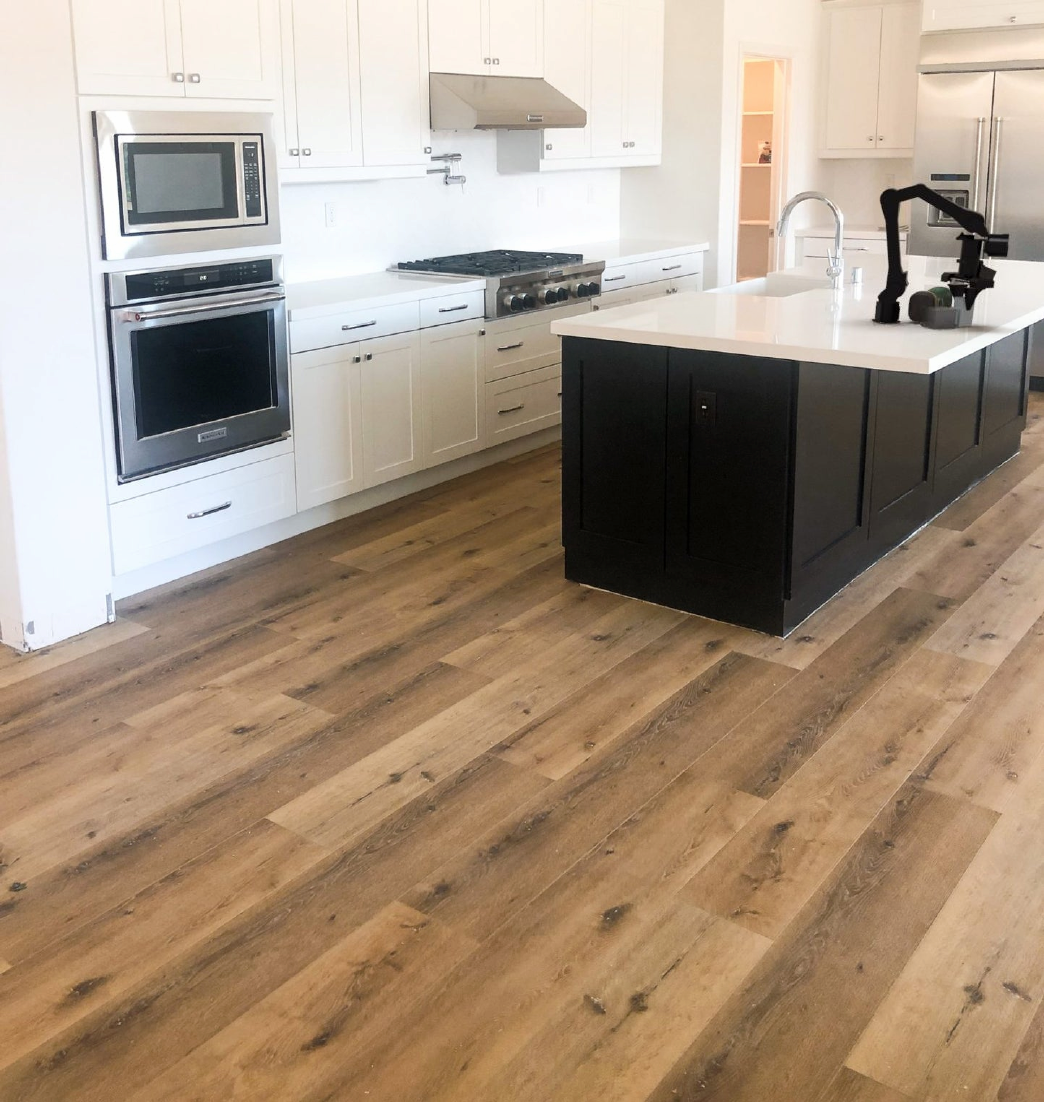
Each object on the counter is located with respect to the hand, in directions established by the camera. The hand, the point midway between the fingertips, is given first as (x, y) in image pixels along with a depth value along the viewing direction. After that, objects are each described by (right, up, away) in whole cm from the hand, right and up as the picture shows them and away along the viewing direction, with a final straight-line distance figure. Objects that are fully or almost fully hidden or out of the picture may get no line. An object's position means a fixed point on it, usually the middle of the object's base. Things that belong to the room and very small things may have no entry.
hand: (963, 309), depth 363 cm
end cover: (-3, -5, +1) cm, 6 cm away
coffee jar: (-1, +6, +18) cm, 19 cm away
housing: (-8, -5, 0) cm, 10 cm away
